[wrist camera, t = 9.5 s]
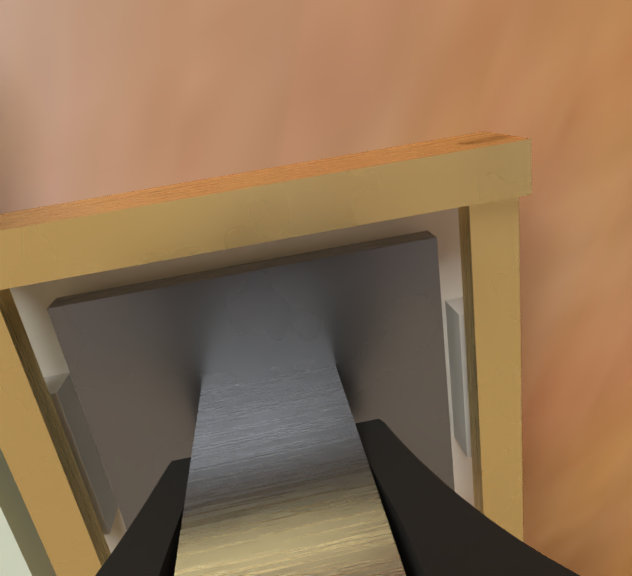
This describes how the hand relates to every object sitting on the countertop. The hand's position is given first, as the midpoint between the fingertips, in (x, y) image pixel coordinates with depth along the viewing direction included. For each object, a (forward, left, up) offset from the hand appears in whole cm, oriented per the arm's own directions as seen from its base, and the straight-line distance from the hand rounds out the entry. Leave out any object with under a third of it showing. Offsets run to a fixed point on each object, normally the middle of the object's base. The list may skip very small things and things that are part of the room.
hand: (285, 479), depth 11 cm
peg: (0, 0, -4) cm, 4 cm away
